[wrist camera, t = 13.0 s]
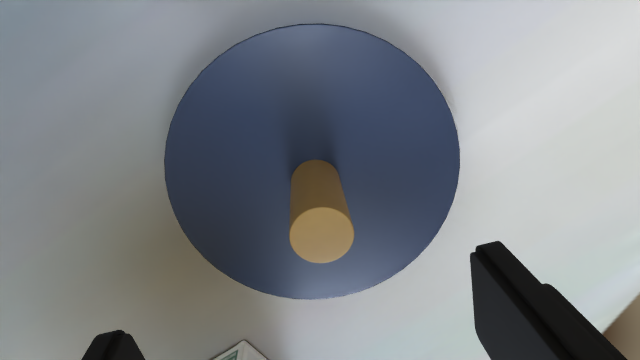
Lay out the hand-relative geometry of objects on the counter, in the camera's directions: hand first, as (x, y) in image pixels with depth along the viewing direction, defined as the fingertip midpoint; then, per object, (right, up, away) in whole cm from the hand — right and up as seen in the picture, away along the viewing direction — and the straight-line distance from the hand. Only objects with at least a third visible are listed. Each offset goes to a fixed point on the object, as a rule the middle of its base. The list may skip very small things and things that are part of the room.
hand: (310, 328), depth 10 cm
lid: (0, +4, +10) cm, 11 cm away
